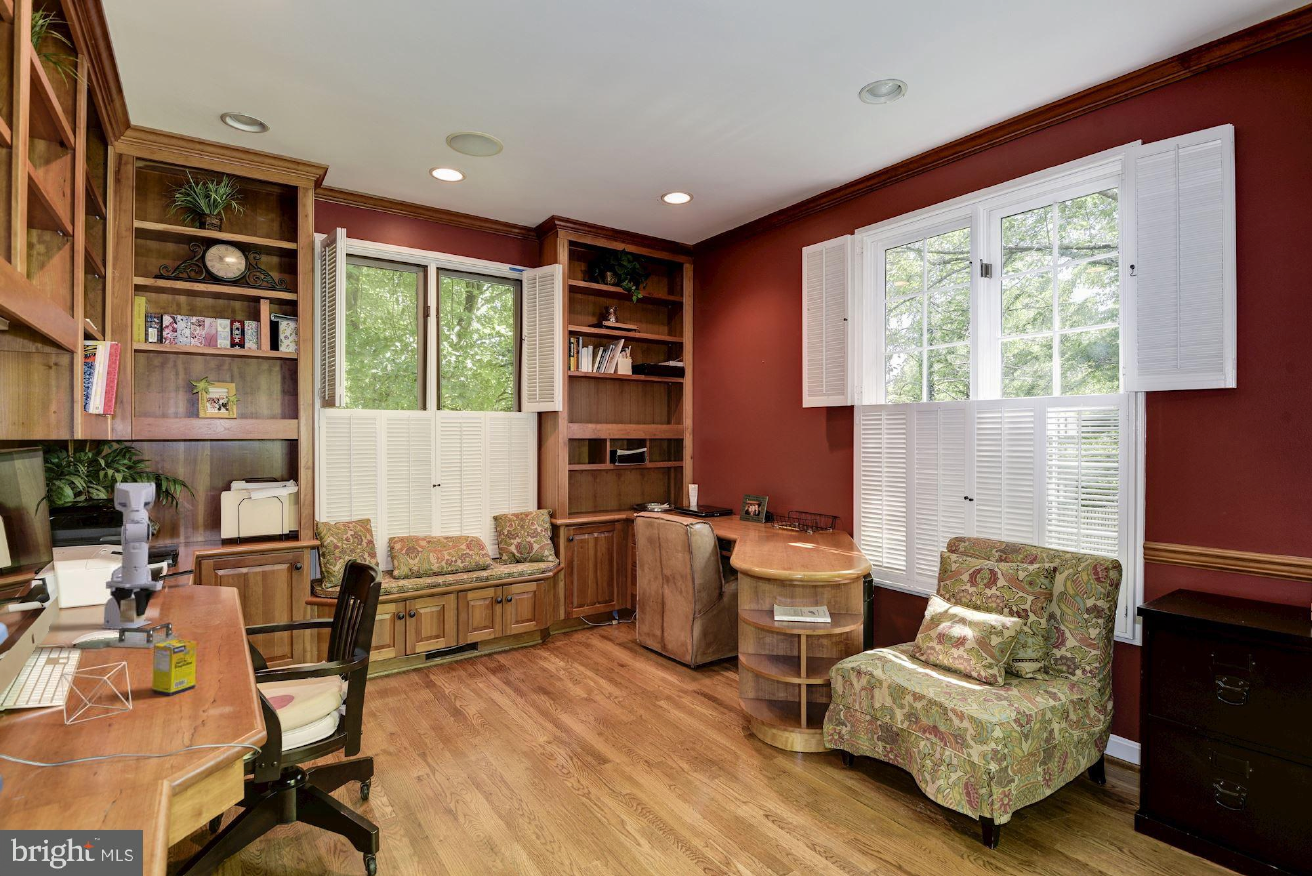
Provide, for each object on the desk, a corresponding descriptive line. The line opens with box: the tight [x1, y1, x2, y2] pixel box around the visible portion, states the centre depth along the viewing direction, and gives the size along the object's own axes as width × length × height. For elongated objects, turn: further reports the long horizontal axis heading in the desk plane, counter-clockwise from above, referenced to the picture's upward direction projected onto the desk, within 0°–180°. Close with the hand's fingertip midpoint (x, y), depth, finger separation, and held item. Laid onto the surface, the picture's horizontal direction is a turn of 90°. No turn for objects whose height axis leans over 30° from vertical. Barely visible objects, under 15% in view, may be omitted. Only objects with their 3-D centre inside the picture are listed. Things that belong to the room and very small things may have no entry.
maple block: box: [120, 597, 147, 623], centre depth 188 cm, size 4×4×6 cm
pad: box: [75, 629, 137, 650], centre depth 191 cm, size 7×14×1 cm, turn 178°
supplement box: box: [151, 638, 198, 697], centre depth 155 cm, size 6×6×11 cm
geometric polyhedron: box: [60, 661, 133, 725], centre depth 141 cm, size 12×11×9 cm
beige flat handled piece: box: [108, 621, 179, 649], centre depth 190 cm, size 12×10×5 cm
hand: (132, 615), depth 187 cm, fingers closed on maple block, 4 cm apart
